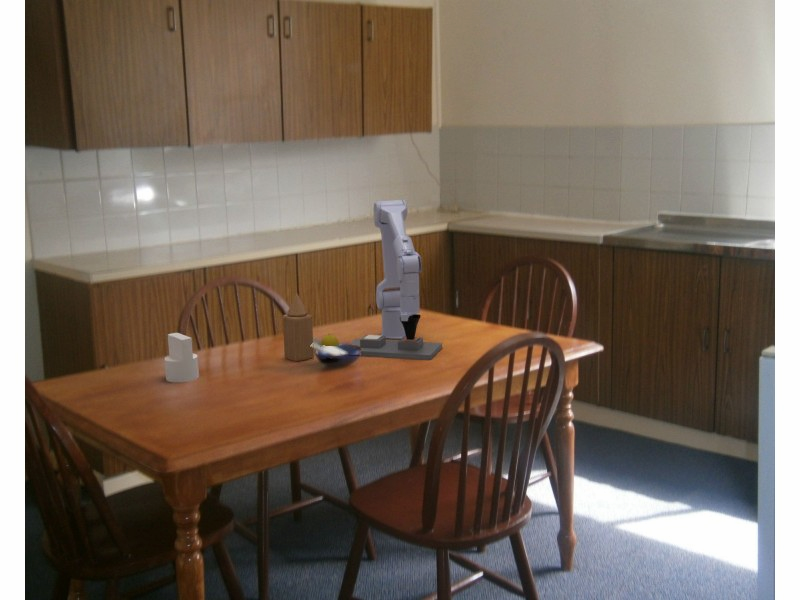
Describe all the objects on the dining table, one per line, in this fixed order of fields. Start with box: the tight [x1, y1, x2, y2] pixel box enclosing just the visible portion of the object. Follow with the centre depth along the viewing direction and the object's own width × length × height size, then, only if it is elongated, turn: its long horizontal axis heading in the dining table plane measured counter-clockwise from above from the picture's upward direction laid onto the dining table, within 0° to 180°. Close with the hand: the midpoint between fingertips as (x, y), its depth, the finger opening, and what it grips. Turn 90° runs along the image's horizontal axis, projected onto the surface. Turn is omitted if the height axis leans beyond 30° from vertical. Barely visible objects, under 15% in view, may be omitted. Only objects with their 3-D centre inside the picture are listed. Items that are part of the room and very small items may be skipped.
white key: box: [364, 334, 382, 340], centre depth 278 cm, size 4×4×2 cm
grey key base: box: [348, 334, 443, 361], centre depth 276 cm, size 14×28×4 cm, turn 73°
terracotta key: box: [402, 336, 421, 342], centre depth 274 cm, size 4×4×2 cm
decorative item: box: [282, 292, 315, 362], centre depth 270 cm, size 7×7×20 cm
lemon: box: [320, 333, 340, 347], centre depth 268 cm, size 6×6×8 cm
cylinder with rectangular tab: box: [164, 332, 200, 383], centre depth 253 cm, size 9×9×12 cm
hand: (410, 339), depth 274 cm, fingers closed, pressing on terracotta key
